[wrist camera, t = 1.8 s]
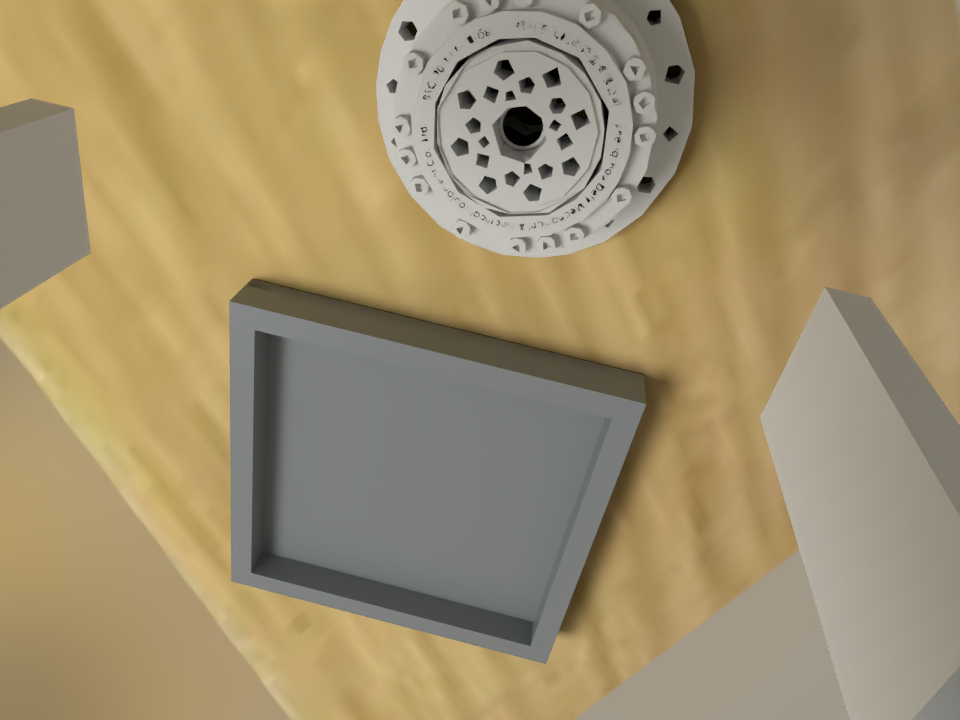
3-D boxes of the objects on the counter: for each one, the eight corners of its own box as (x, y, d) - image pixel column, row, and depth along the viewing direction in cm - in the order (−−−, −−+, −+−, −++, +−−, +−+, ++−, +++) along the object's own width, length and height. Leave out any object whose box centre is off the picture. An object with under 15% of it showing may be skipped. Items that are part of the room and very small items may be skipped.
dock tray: (252, 278, 29) (229, 301, 27) (644, 375, 28) (646, 404, 26) (249, 551, 37) (231, 581, 36) (549, 629, 37) (545, 663, 35)
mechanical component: (708, 213, 25) (669, -124, 20) (724, 264, 21) (681, -134, 16) (436, 264, 27) (346, -22, 23) (407, 318, 24) (293, -11, 19)
